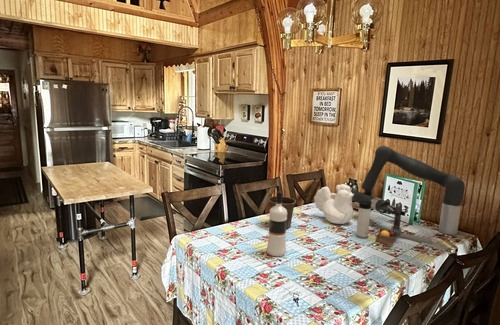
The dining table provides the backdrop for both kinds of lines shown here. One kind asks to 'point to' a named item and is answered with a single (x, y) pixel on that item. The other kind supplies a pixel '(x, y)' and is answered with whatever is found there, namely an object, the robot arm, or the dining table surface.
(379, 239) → the brown wooden block
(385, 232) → the ball
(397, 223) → the kicker
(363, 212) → the travel mug
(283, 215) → the vodka
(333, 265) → the dining table surface
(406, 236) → the rail
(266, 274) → the dining table surface
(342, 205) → the decorative rooster
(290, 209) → the plant pot
